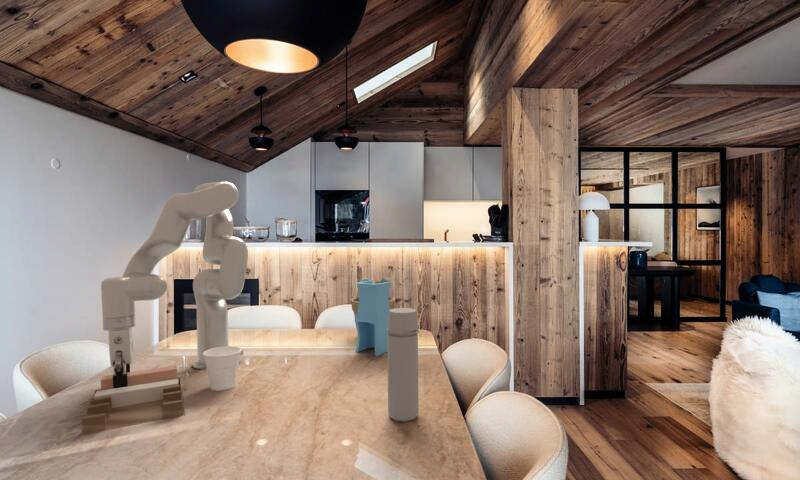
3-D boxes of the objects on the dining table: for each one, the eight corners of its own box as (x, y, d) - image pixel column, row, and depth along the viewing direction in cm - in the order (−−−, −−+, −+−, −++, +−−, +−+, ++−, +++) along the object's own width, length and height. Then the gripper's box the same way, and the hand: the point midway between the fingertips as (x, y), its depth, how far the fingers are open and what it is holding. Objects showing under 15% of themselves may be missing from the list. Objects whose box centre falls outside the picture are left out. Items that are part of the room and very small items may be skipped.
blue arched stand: (392, 349, 160) (392, 281, 159) (377, 355, 151) (376, 284, 151) (371, 345, 165) (370, 280, 164) (355, 351, 157) (354, 283, 156)
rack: (93, 407, 109) (92, 390, 109) (182, 392, 118) (182, 376, 118) (79, 440, 92) (79, 419, 92) (185, 420, 101) (184, 401, 101)
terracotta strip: (176, 382, 128) (175, 365, 128) (177, 386, 124) (176, 368, 124) (102, 394, 119) (102, 376, 119) (101, 399, 115) (100, 380, 115)
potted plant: (345, 341, 172) (345, 278, 172) (358, 330, 191) (357, 273, 190) (391, 342, 169) (390, 278, 169) (399, 331, 188) (398, 274, 187)
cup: (249, 386, 123) (249, 347, 123) (225, 399, 114) (224, 357, 113) (221, 382, 126) (220, 345, 126) (195, 395, 117) (194, 354, 117)
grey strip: (178, 391, 116) (178, 378, 116) (178, 396, 112) (178, 383, 112) (96, 405, 107) (96, 391, 107) (94, 411, 104) (94, 396, 104)
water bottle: (409, 426, 97) (408, 314, 96) (380, 418, 101) (379, 311, 100) (429, 411, 104) (428, 308, 104) (401, 404, 109) (400, 305, 108)
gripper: (133, 326, 113) (136, 391, 114) (137, 315, 129) (139, 372, 129) (98, 330, 110) (101, 397, 110) (106, 318, 125) (109, 376, 126)
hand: (122, 383), depth 120 cm, fingers open, 9 cm apart
